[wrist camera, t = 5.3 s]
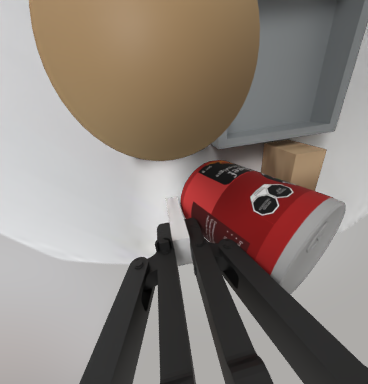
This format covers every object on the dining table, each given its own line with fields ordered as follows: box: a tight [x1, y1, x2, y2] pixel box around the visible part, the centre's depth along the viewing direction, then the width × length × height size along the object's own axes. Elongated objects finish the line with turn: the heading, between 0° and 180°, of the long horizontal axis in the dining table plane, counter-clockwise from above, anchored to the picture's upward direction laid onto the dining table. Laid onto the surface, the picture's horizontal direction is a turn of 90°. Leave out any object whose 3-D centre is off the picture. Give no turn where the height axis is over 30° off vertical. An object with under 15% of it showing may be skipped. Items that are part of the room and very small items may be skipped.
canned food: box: [181, 160, 345, 294], centre depth 15 cm, size 8×8×11 cm
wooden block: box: [261, 140, 327, 191], centre depth 19 cm, size 8×3×5 cm, turn 6°
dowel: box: [29, 0, 260, 161], centre depth 9 cm, size 3×3×15 cm
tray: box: [211, 0, 368, 149], centre depth 15 cm, size 12×12×3 cm
